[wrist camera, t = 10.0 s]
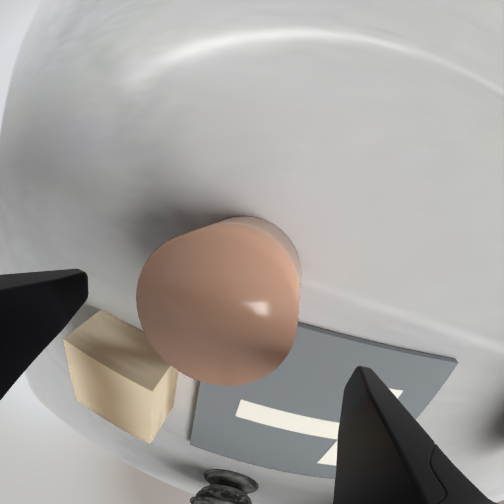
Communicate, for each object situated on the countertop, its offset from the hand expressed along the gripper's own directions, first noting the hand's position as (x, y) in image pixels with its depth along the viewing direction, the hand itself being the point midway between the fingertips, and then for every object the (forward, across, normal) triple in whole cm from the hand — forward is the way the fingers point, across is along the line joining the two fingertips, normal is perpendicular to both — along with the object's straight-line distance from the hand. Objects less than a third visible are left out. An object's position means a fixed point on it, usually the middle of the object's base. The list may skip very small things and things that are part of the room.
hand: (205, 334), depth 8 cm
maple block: (+6, +6, +9) cm, 12 cm away
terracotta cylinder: (+5, 0, 0) cm, 5 cm away
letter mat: (+6, -6, +9) cm, 12 cm away
